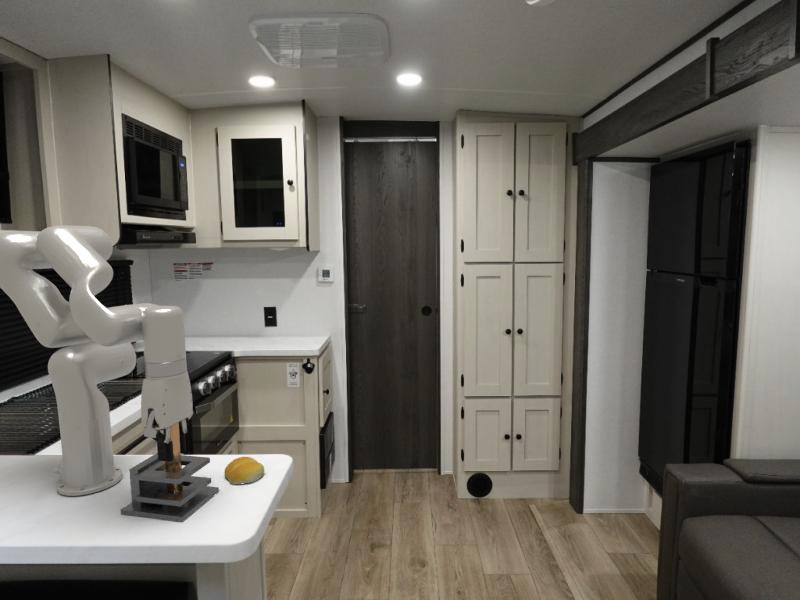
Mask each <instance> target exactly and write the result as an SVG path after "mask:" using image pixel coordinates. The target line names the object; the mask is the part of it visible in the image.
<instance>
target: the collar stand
mask: <svg viewBox="0 0 800 600" xmlns="http://www.w3.org/2000/svg"><path fill="white" fill-rule="evenodd" d="M210 462H211V458H210V457H208V456H197V455H185V454H181V463H182V466H183V467H182V469H180V470H179V471H177V472H167V471H166V468H165V461H159V460H158V452H157V453H155V454H153V455H151V456H150V457H148V458H146V459H145V460H143V461H142V462H140V463H137V464H136V465H134V466H133V467H131V468H129V472H128V473H129V482H130V484H129V485H130V495H131V502H129V503H128V504H126V505H124V507H122V508H120V515H123V516H132V517H138V518H139V517H140V518H147V519H153V520H155V519H156V520H161V521H162V520H163V521H172V522H180V523H183V522H185V520H187V519H189V518H190V517H191V516H192V515H193V514H194V513H195V512H197V511H198V510H199V509H200V508H201V507H203V506H205V504H206V503H207V502H208V501H210V500H211V499H212V498H213V497H215V496H216V495H217V494H219V492H220V488H219V486H209V485H210V484H211V483H212V478H211V477H207V476H206V477H205V476H195V474H196V473H197V472H198V471H200V470H201V469H203V468H204V467H206V466H207V465H208V464H210ZM182 482H183V490H182V491H181V492H180V493H178V494H173V493H167V483H172V484H180V483H182ZM215 494H216V495H215ZM214 495H215V496H214Z"/></svg>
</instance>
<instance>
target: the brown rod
mask: <svg viewBox="0 0 800 600" xmlns="http://www.w3.org/2000/svg"><path fill="white" fill-rule="evenodd" d="M162 434H164V430H162ZM170 441H172V443H173V455H174V460H173V461H171V462H168V461H165V468H166V471H167V472H177V471H179V470H180V469H182V468H183V467H182V466H183V465H182V463H181V455H182V453H181V449H180V434H179V422H178V423H176V424H174V425H172V426H170ZM182 490H183V482H182V483H180V484H172V483H167V493H173V494H178V493H180V492H181V491H182Z"/></svg>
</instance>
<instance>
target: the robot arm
mask: <svg viewBox="0 0 800 600" xmlns="http://www.w3.org/2000/svg"><path fill="white" fill-rule="evenodd" d="M113 245H114V244H113V241H112V239H111V238H110V236H109V234H108V233H107V232H106V231H105V230H103V229H101V228H100V227H98V226H93V225H61V224H60V225H59V224H58V225H53V226H49V227H46V228H44V229H42V230H41V231H33V230H32V231H31V230H30V231H29V230H28V231H27V230H26V231H25V230H24V231H22V230H21V231H20V230H19V231H17V230H15V231H8V232H7V231H6V232H3V233H0V289H1V290H2V291H3V292H4V293H5V294H6V295H7V296H8V297H9V298H10V299H11V301H12V302H13V303H14V304H15V306H16V308H17V309H18V311H19V313H20V314H21V316H22V318H23V320H24V321H25V322H26V324H27V326H28V327H29V329H30V331H31V332H32V334H33V336H34V337H35V338H36V340H37V341H38V342H39V343H40V345H42V346H43V347H45V348H50V349H54V348H60V349H58V350H56V351H55V352H54V353H53V354H52V355H50V358H49V360H48V363H47V372H48V375H49V378H50V381H51V384H52V387H53V391H54V394H55V400H56V405H57V415H58V423H59V424H58V425H59V433H60V443H61V453H62V454H61V455H62V460H60V461H58V463H57V466H56V467H54V468H53V469H52V473H53V474H59V475H60V477H61V480H59V481H58V483H56V484H57V485H56V490H57V493H58V494H60V495H63V496H67V497H78V496H85V495H90V494H94V493H98V492H100V491H101V492H102V491H103V490H106V489H109V488H112V487H113V486H114V485H117V483H119V482H120V481H121V479H123V476H124V472H123V469H122V468H120V467H118V466H116V465H115V461H114V449H113V437H112V425H111V414H110V406H109V405H110V404H109V401H108V398H107V397H106V396H105V395H104V393H103V392H102V391H101V390H100V389H99V388H98V386H97V385H99V384H102V383H104V382H107V381H108V382H109V381H112V380H115V379H118V378H121V377H124V376H126V375H129V374H130V373H131V372H133V370H134V369H135V367H136V364H137V355H136V351H135V348H134V346H133V344H132V343H134V342H140V341H142V345H143V356H144V357H143V358H144V371H145V378H144V379H143V380H142V385H141V395H140V397H141V398H140V399H141V400H140V401H141V402H140V417H141V419H140V420H141V426H142V428H144V429H145V430H144V433H143V436H144V437H145V438H150V439H153V442H154V443H156V448H157V450H156V451H157V453H158V460H159V461H168V462H171V461H173V460H174V455H173V443H172V441H170V426H172V425H174V424H176V423H178V422H179V434H180V449H181V454H182V455H185V454H186V452H187V443H186V442H187V441H186V433H188V428H187V426H188V424H189V422H190V419H191V418H192V417H193V415H194V410H193V394H192V386H191V380H190V376H189V372H188V367H187V365H188V363H187V352H186V350H187V349H186V338H185V337H186V336H185V322H184V319H185V317H184V312H183V309H181V307H180V306H177V305H158V304H156V303H155V304H154V303H150V302H147V303H146V302H142V303H134V304H126V305H119V306H118V305H116V306H111V307H107V306H105V305H104V304H102V303H101V302H100V301H99V300H98V299H97V297H95V296H96V295H98V294H99V293H101V292H102V291H104V290H105V289H106V288H107V287H108V286H109V285H110V283H111V281H113V277H114V270H113V268H112V266H111V265H110V264H109V262H108V260H109V259H110V258H111V256H112V255H113V249H114V248H113ZM42 269H53V270H54V272H56V273H57V274H58V275H59V276H60V278H61V279H63V280H64V282H65V283H66V284H67V285H68V286H69V287H70V288H71V291H70V294H69V301H68V300H66V299H65V298H64V296H63V295H62V294H61V292H60V290H59V289H58V288H57V286H56V285H55V284H54V283H52V282H51V281H50V280H49V279H47V278H46V277H45V276H43V275H40V274H39V273H37V272H36V271H34V270H42ZM163 430H164V434H163V432H161V431H163Z"/></svg>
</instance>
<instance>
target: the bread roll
mask: <svg viewBox="0 0 800 600" xmlns="http://www.w3.org/2000/svg"><path fill="white" fill-rule="evenodd" d="M264 474H265V467H264V465H263V464H262V463H260V462H258V461H257V460H256V459H255V458H253V457H251V456H240V457H237V458H235V459H233V460H232V461H230V462H229V463H228V464H227V465H226V467H225V468H224V476H225V478H226V479H227V480H228V481H229V482H230V483H231V482H232V485H242V484H241V483H248V484H251V483H250V482H252V483H254V481H255V482H256V480H257V481H258V480H260V479H261V478H262V477H263V476H264ZM259 478H260V479H259Z"/></svg>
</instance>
